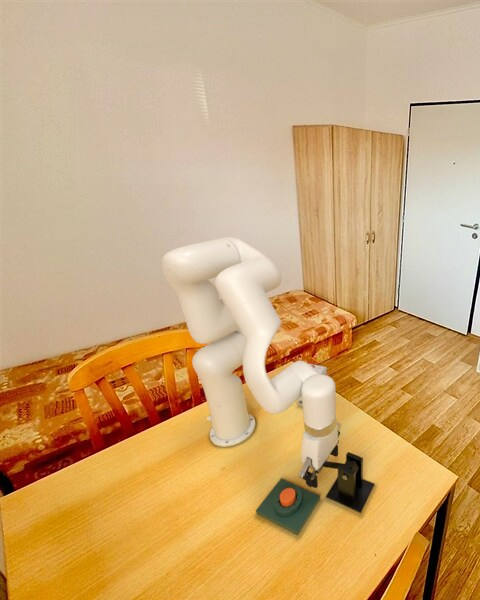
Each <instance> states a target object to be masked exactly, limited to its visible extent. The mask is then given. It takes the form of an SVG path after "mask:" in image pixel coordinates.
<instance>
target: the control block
mask: <svg viewBox="0 0 480 600" xmlns="http://www.w3.org/2000/svg"><path fill="white" fill-rule="evenodd" d="M287 488H292V489H294V490H295V494H296V500H295V502H294V503H293V504H292V505H291V506H289V507H284V506H282V505H281V503H280V494H281V492H282V491H283V490H285V489H287ZM320 501H321V495H318V494H316V493H315V492H312V491H310V490H308V489H305V488H303V487H301V486H300V485H297V484H295V483H293V482H290V481H288V480H286V479H284V478H282V477H281V478H280V479H279V481H277V482H276V484H275V486H273V488H272V489H271V490H270V492H269V493H268V494H267V496H266V497H265V498H264V499H263V500H262V502H261V503H260V505H259V506H258V507H257V508H256V510H255V513H256V515H258V516H260V517H262V518H264V519H266V520H268V521H269V522H272V523H273V524H275V525H277V526H278V527H281V528H283V529H285V530H287V531H288V532H290V533H292V534H295V535H296V536H299V535H300V533H301V532H302V530H303V528H304V526H305V525H306V523H307V521H308V520H309V518H310V517H311V515H312V514H313V512H314V510H315V509H316V507H317V505H318V504H319V503H320Z"/></svg>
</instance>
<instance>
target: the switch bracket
mask: <svg viewBox="0 0 480 600" xmlns="http://www.w3.org/2000/svg"><path fill="white" fill-rule="evenodd" d="M347 460H351V461H356V463H357V465H358V468H359V469H358V470H357V472H356V471H354V470H351V469H349V468H347V467H344V466H342V465H339V467H338V469H337V477H336V479H335V481H334V482H333V483H332V486H331V487H330V489H329V490H328V493H327V494H326V496H325V498H327V499H329V500H331V501H333V502H335V503H337V504H340V505H342V506H344V507H347V508H348V509H351V510H353V511H355V512H357V513H359V514H362V512H363V510H364V508H365V506H366V503H367V501H368V499H369V497H370V495H371V493H372V492H373V489H374V487H375V483H373V482H371V481H368V480H366V479H364V457H362V456H359V455H357V454H354V453H353V452H349V451H347V452H346V454H345V462H346V461H347Z"/></svg>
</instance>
